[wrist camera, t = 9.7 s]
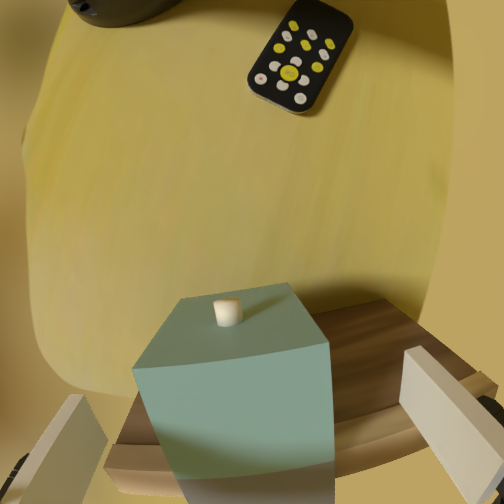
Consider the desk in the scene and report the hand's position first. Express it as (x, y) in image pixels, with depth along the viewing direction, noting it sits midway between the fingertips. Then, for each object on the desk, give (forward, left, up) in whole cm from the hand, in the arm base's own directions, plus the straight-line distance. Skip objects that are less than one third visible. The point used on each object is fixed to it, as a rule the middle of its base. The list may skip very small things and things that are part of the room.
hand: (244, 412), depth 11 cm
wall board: (+5, +3, -17) cm, 18 cm away
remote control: (-21, +9, -18) cm, 29 cm away
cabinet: (+3, 0, -9) cm, 10 cm away
